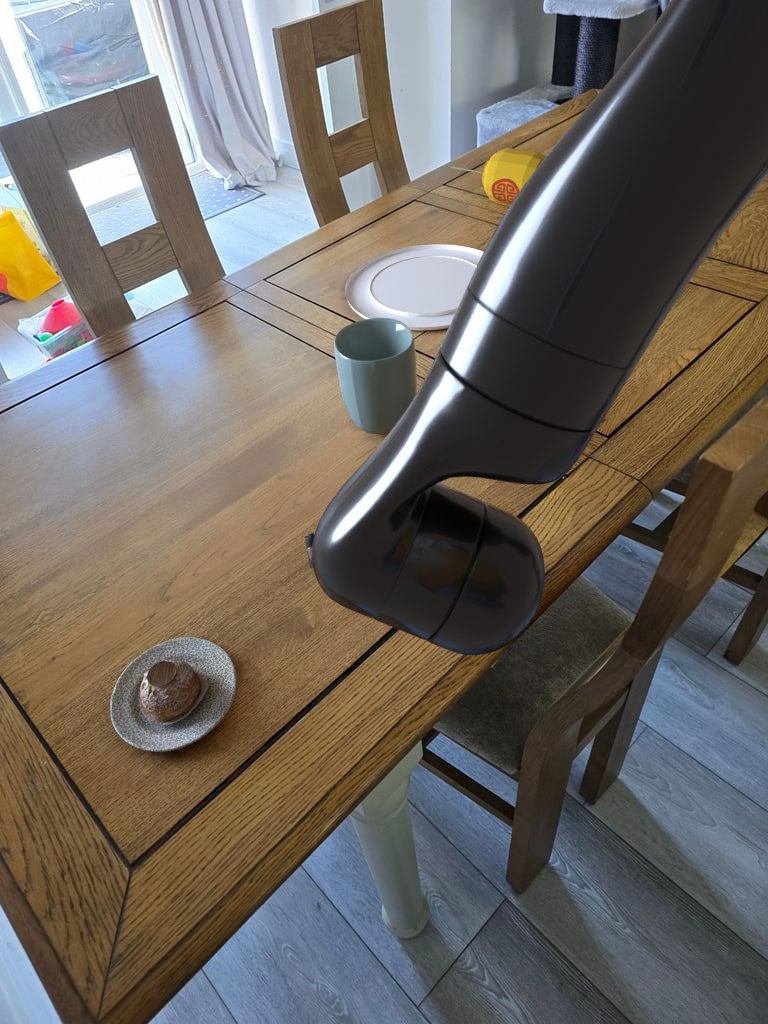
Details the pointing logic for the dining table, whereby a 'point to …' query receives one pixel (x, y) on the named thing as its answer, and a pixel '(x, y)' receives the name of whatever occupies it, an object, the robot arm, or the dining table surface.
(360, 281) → the plate
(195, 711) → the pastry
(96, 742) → the dining table surface
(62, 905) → the dining table surface
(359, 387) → the cup
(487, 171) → the lantern
